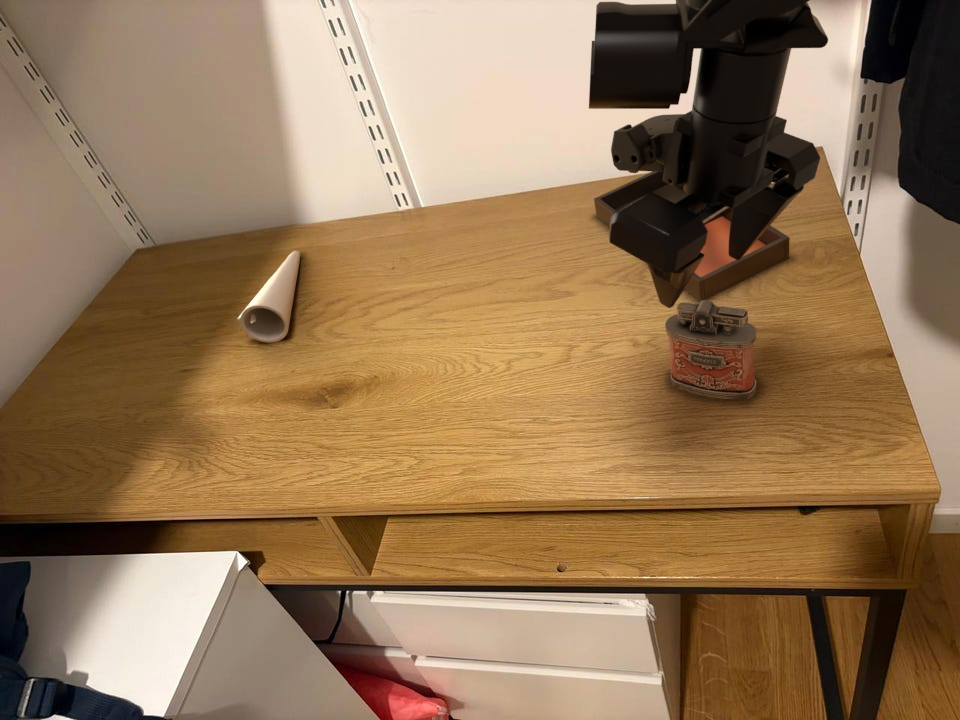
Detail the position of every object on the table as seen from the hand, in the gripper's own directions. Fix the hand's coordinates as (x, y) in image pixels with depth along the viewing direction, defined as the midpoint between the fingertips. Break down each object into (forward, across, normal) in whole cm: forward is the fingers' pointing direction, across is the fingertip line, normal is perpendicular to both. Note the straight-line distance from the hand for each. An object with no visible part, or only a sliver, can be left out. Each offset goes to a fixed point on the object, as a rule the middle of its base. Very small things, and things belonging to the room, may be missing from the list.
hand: (701, 280), depth 63 cm
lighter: (+13, -2, +2) cm, 14 cm away
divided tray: (+13, -20, -16) cm, 29 cm away
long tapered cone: (+23, +16, -52) cm, 59 cm away
